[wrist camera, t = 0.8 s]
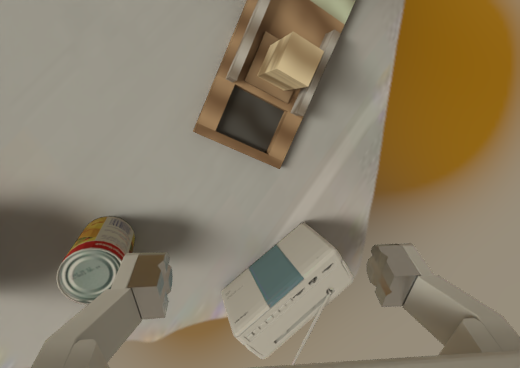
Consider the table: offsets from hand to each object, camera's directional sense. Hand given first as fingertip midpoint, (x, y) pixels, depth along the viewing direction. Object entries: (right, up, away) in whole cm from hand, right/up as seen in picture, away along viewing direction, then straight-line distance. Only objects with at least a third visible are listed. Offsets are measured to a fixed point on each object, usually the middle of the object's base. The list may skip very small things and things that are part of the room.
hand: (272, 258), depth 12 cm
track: (+3, +26, +38) cm, 46 cm away
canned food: (-25, -6, +37) cm, 45 cm away
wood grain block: (+2, +22, +36) cm, 42 cm away
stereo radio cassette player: (+2, -13, +47) cm, 49 cm away
